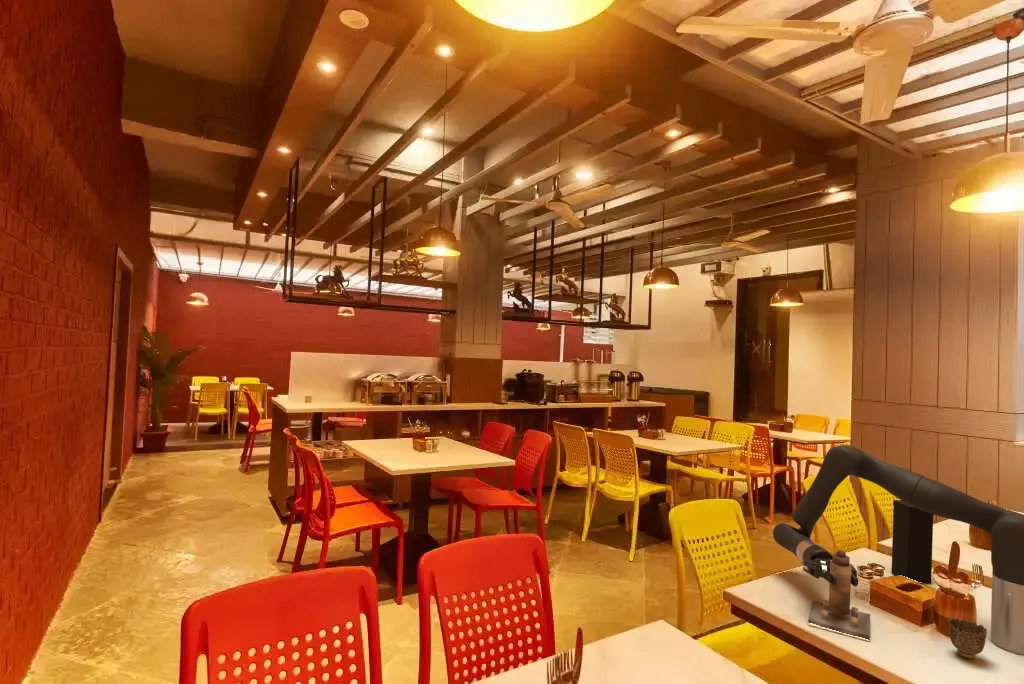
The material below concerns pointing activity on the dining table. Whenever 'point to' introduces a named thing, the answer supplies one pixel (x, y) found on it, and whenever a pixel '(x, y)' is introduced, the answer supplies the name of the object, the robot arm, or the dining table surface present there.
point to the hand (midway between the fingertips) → (845, 582)
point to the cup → (967, 637)
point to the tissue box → (912, 542)
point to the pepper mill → (840, 584)
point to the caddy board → (840, 620)
